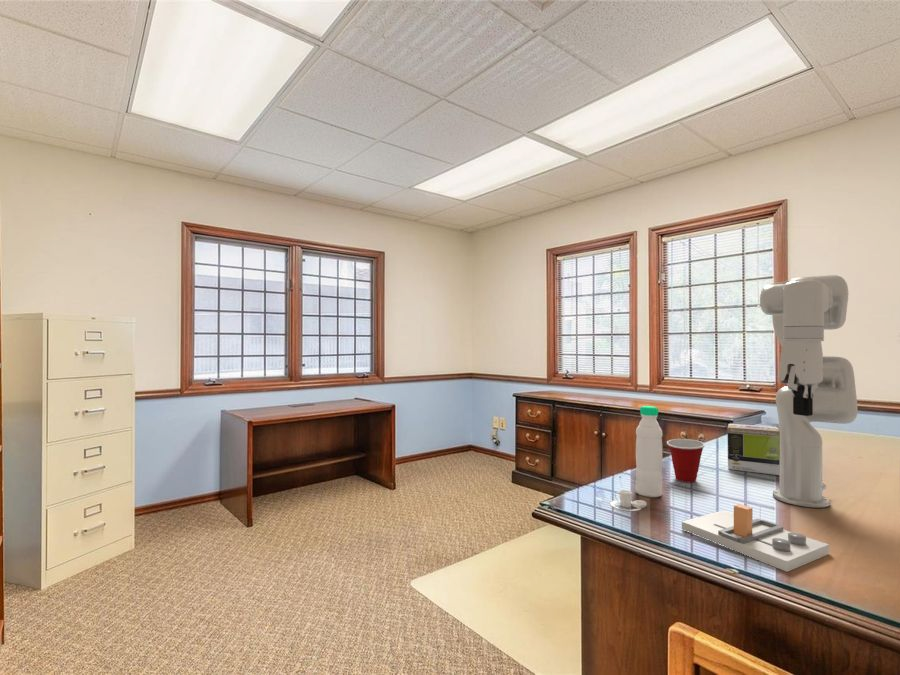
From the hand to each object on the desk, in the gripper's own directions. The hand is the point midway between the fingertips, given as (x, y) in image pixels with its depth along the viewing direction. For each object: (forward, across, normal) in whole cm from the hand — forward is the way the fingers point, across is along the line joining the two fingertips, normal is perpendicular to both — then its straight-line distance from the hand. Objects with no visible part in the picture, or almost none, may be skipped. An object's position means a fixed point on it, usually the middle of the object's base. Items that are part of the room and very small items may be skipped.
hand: (802, 414), depth 107 cm
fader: (+25, +18, -3) cm, 31 cm away
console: (+27, +15, -3) cm, 31 cm away
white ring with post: (+28, +22, -28) cm, 46 cm away
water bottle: (+27, +8, -35) cm, 45 cm away
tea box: (+27, -46, -36) cm, 65 cm away
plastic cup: (+27, -14, -39) cm, 50 cm away
